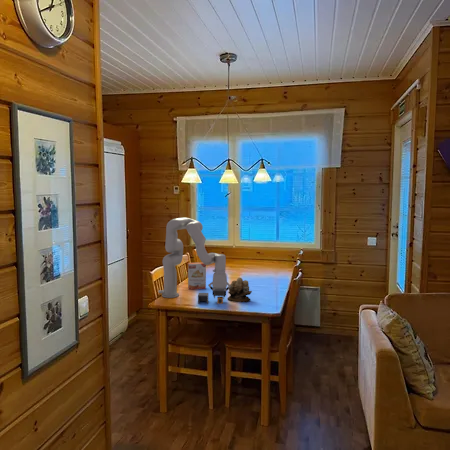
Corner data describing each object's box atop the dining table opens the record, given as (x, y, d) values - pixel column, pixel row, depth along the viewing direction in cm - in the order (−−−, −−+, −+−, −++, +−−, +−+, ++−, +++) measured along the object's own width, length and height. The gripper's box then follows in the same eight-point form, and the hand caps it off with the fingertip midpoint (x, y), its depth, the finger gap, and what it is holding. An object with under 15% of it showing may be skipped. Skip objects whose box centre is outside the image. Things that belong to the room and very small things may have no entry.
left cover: (197, 303, 289) (197, 295, 288) (198, 300, 296) (198, 292, 295) (207, 303, 289) (207, 295, 288) (208, 301, 296) (208, 292, 295)
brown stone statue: (253, 299, 302) (253, 276, 300) (250, 303, 291) (250, 280, 289) (229, 296, 307) (229, 274, 305) (225, 301, 296) (225, 278, 294)
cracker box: (188, 289, 327) (188, 263, 325) (187, 287, 333) (187, 262, 331) (206, 288, 330) (206, 263, 328) (205, 287, 336) (205, 261, 334)
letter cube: (217, 303, 290) (217, 298, 289) (217, 302, 294) (217, 296, 293) (222, 303, 289) (222, 298, 289) (222, 302, 294) (223, 296, 293)
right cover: (214, 298, 289) (214, 290, 288) (214, 295, 296) (214, 287, 295) (224, 298, 288) (224, 290, 288) (224, 295, 295) (224, 287, 295)
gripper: (207, 272, 286) (206, 297, 288) (232, 273, 286) (231, 298, 288) (208, 270, 294) (207, 294, 296) (232, 270, 294) (231, 295, 296)
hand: (219, 296), depth 292 cm, fingers closed on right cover, 7 cm apart
